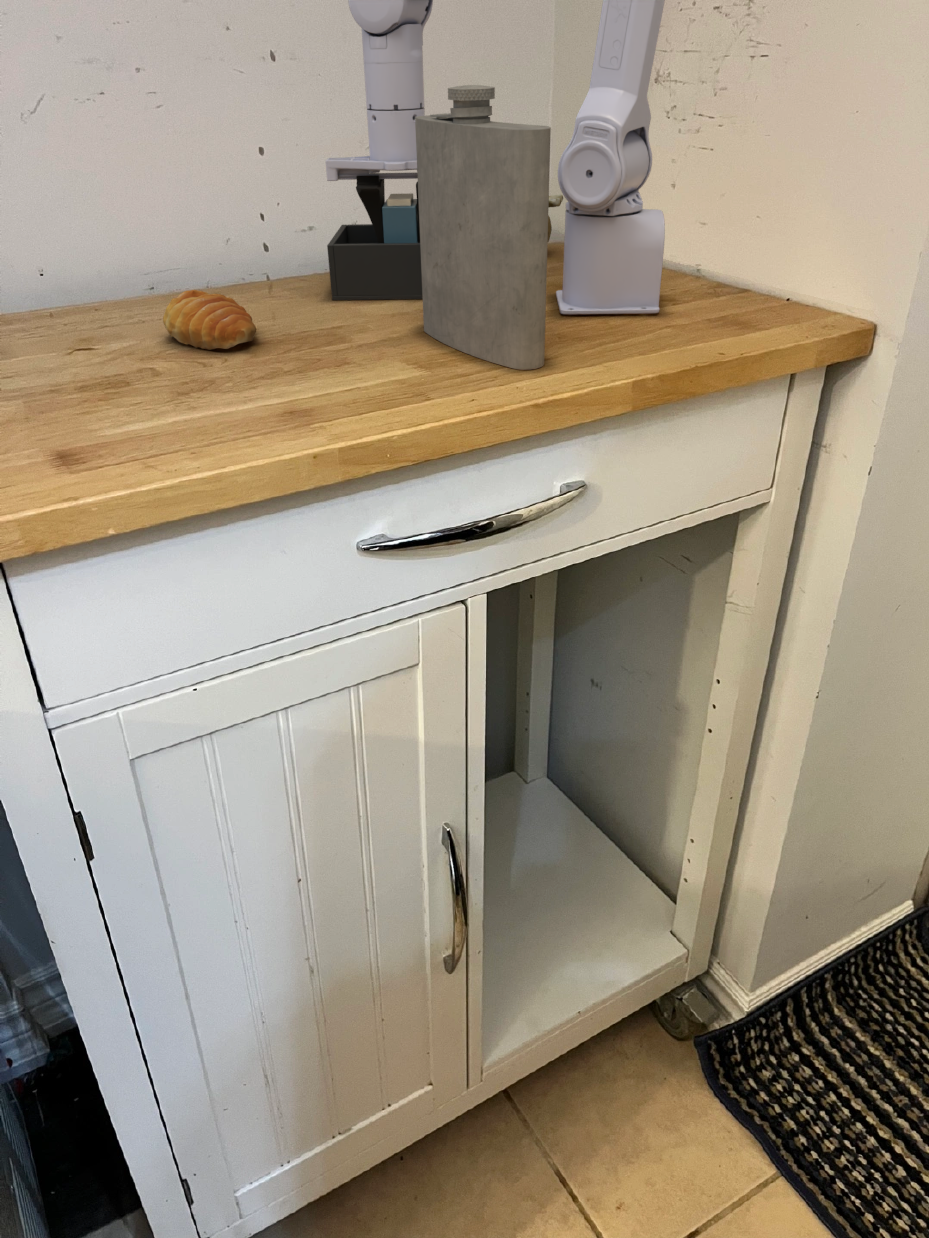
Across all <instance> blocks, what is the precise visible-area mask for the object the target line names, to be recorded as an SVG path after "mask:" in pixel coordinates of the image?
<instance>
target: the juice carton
mask: <svg viewBox="0 0 929 1238" xmlns="http://www.w3.org/2000/svg"><path fill="white" fill-rule="evenodd" d="M382 214H383V231H384V243H418V210H417V198H414V193H411V192H410V193H390V194H389V196H388V198H387V199H385V203H384V205H383V207H382Z"/></svg>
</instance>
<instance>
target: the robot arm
mask: <svg viewBox="0 0 929 1238" xmlns="http://www.w3.org/2000/svg"><path fill="white" fill-rule="evenodd" d="M665 2H666V0H602V5H601V11H600V18H599V25H598V30H597V37H596V43H595V50H594V55H593V56H594V57H593V63H592V68H591V74H590V75H591V76H590V82H589V86H588V87H589V89H588V91H587V94H586V96H585V98H584V100H583V101H582V104H581V106H580V108H579V111H578V112H577V114H576V117H575V121H574V128H573V132H572V136H571V139H570V141H569V143H568V144H567V146H566V147H565V149H564V150H563V151H562V154H561V156H560V158H559V161H558V164H557V165H558V166H557V181H558V186H559V189H560V191H561V194H562V195H563V198H565V200H566V201H567V202H565V213H564V214H565V215H564V241H563V243H564V244H563V267H562V289H559V290H558V289H557V290H556V291H555V297H556V301H557V306H558V309H559V313H560V314H561V315H565V316H567V315H635V314H636V315H638V314H640V315H641V314H644V315H645V314H648V315H650V314H651V315H652V314H659V313H660V297H661V284H662V275H663V274H662V273H663V263H664V255H665V253H664V252H665V240H666V239H665V237H666V225H665V224H666V223H665V221H666V220H665V215H664V212H663V210H662V209H656V208H654V209H653V208H651V209H649V208H644V201H643V199H642V196H641V193H640V192H639V190H640V189H641V188H642V187H644V185H645V184H646V182H647V180H648V178H649V177H650V174H651V172H652V167H653V152H652V148H651V144H650V138H649V137H650V135H649V133H650V132H649V131H650V126H651V121H652V113H651V109H650V104H649V100H648V99H649V98H648V91H649V86H650V81H651V76H652V72H653V71H652V70H653V66H654V61H655V60H654V59H655V55H656V50H657V45H658V44H657V43H658V39H659V35H660V33H659V32H660V29H661V22H662V18H663V13H664V7H665ZM347 3H348V7H349V11H350V14H351V16H352V18H353V20H354V22H356V24H357V25H358V26H359V27H360V29H361V41H362V42H361V43H362V56H363V58H362V59H363V73H364V88H365V89H364V90H365V104H366V106H365V107H366V118H367V133H368V134H367V135H368V151H369V155H363V156H348V157H347V156H345V157H344V156H343V157H328V158H327V159H325V172H326V181H327V182H337V181H345V180H347V181H349V180H351V181H352V180H354V181H355V180H356V186H355V190H356V193H357V195H358V197H359V200H360V201H361V203H362V205H363V207H364V209H365V211H366V213H367V215H368V217H369V220H370V223H371V224H372V225H373V228H374V231H375V234H376V237H377V241H378V243H384V231H383V214H382V207H383V205H384V203H385V202H386V197H385V195H386V194H385V190H386V189H385V180H411V179H413V180H414V179H415V180H418V175H417V172H401V171H417V151H416V127H415V117H417V116H426V110H425V85H424V83H425V82H424V81H425V80H424V53H423V52H424V51H423V46H424V37H423V36H424V28H425V26H426V24H427V23H428V21H429V19H430V16H431V14H432V10H433V5H434V4H433V3H434V0H347ZM381 171H387V172H381ZM388 171H389V172H388ZM390 171H391V172H390ZM397 171H398V172H397ZM399 171H400V172H399ZM415 194H416V199H417V210H418V243H420V223H419V199H418V181H416V183H415Z"/></svg>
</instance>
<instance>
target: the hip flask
mask: <svg viewBox="0 0 929 1238" xmlns="http://www.w3.org/2000/svg"><path fill="white" fill-rule="evenodd" d="M495 89H496V87H495V86H490V85H483V84H482V85H481V84H466V85H465V84H464V85H458V86H452V87H448V88H447V100H449V101H452V104H453V105H452V107H450V108H449V109H450V113H449V112H448V113H436V114H435V113H433V114H430V115H429V114H428V115H425V116H417V117H415V127H416V151H417V170H416V173H417V175H418V179H417V182H418V199H419V223H420V247H421V271H422V296H423V299H422V316H423V317H422V319H423V332H424V333H426V334H427V335H428V336H430V337H432V338H433V339H435V340H437V341H438V342H440V343H442V344H444V345H445V346H448V347H449V348H450V347H451V348H452V349H454V350H457V351H460V352H462V353H464V354H467V355H469V356H472V357H474V358H477V359H480V360H484V361H486V362H489V363H491V364H496V365H499V366H503V367H506V368H510V369H513V370H520V371H525V370H526V371H528V370H529V371H530V370H531V371H532V370H537V369H540V368H542V367H543V366H544V365H545V347H546V346H545V345H546V316H547V315H546V312H547V311H546V310H547V308H546V307H547V281H548V280H547V279H548V278H547V277H548V275H547V274H548V244H549V242H548V215H549V209H550V207H549V196H550V171H551V170H550V167H551V133H552V128H551V126H549V125H539V124H527V123H526V124H525V123H513V122H512V123H511V122H502V121H501V122H500V121H492V120H491V117H490V116H492V115H493V105H491V103H490V102H491V101H490V100H495V99H496V97H495V96H496V94H495V93H496V90H495Z"/></svg>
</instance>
